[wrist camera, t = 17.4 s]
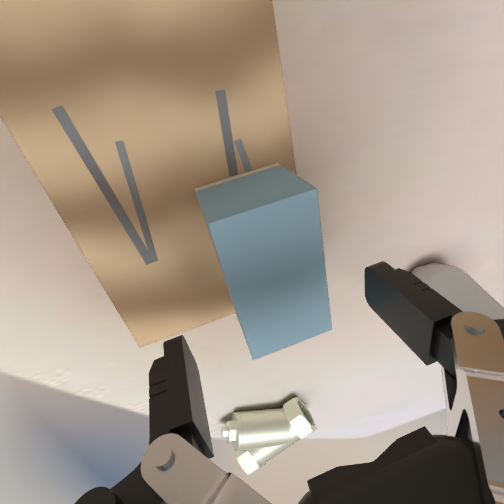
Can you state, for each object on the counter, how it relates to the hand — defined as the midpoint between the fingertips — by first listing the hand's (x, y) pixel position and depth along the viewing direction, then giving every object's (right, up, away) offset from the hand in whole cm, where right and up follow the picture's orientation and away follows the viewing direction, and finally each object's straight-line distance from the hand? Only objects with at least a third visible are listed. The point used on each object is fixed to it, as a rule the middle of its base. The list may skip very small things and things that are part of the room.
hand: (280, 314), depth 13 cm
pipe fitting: (0, -14, +20) cm, 24 cm away
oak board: (-5, +7, +6) cm, 11 cm away
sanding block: (-1, +3, +7) cm, 8 cm away
